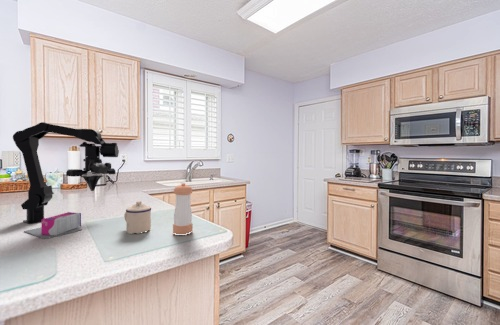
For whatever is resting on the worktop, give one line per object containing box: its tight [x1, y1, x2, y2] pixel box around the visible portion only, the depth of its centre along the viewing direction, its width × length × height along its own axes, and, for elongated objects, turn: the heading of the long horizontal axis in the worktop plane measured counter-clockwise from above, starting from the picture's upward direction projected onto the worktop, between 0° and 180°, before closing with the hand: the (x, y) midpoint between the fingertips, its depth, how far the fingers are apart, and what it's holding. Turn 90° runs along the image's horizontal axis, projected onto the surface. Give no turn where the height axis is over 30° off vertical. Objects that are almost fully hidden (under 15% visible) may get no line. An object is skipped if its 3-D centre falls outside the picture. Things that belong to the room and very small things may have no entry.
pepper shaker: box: [172, 183, 193, 234], centre depth 91 cm, size 7×7×19 cm
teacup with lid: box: [123, 200, 152, 234], centre depth 94 cm, size 12×9×12 cm
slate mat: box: [23, 226, 83, 240], centre depth 91 cm, size 16×12×1 cm
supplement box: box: [41, 211, 82, 235], centre depth 91 cm, size 6×6×12 cm
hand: (92, 190), depth 109 cm, fingers closed
